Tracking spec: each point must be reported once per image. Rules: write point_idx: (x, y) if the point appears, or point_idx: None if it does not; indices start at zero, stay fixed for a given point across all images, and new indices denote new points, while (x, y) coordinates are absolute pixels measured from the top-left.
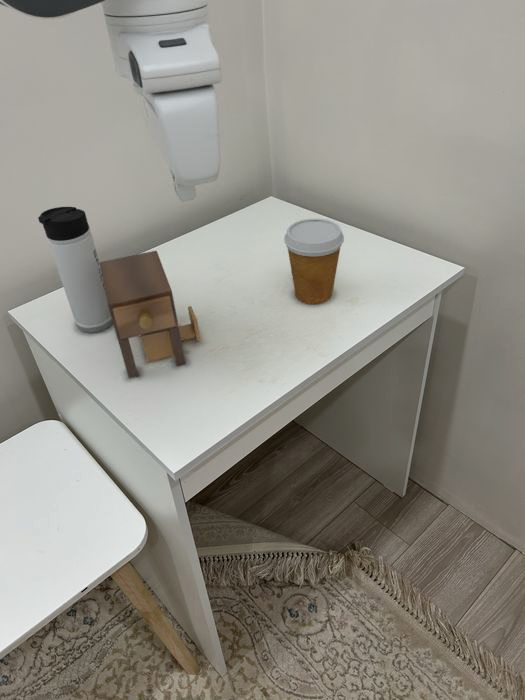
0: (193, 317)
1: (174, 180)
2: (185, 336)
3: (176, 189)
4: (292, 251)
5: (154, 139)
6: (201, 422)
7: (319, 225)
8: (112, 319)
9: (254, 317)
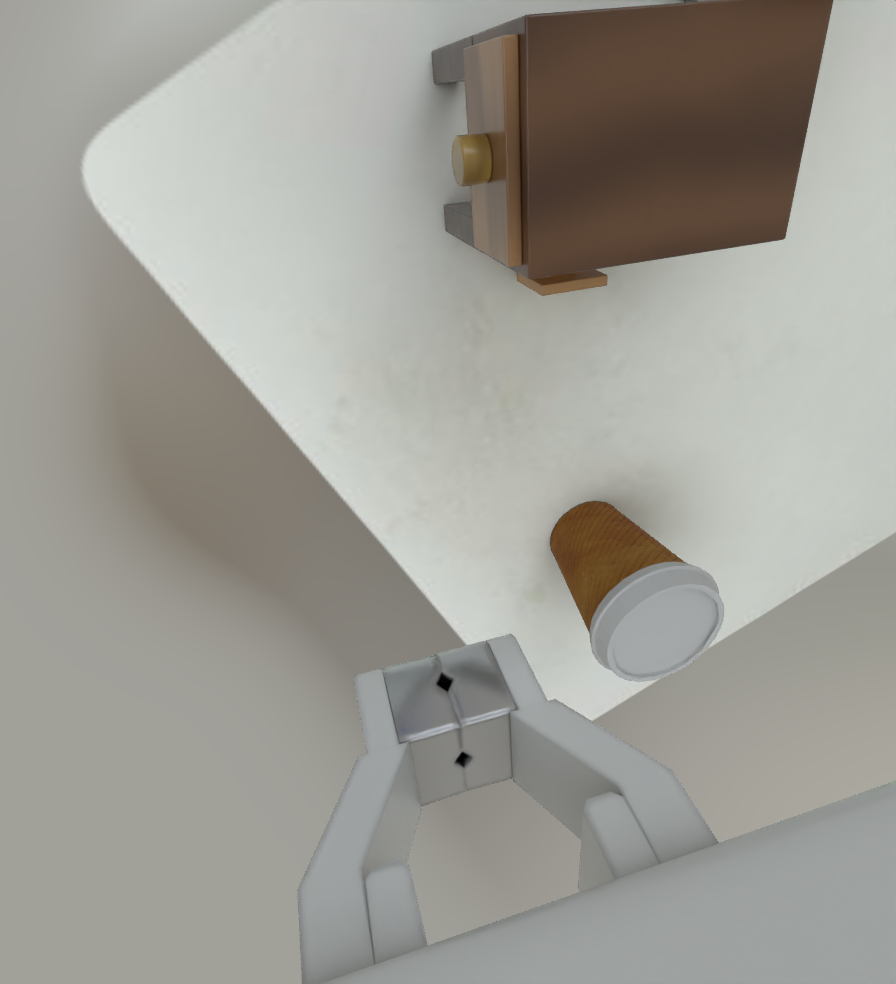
0: (554, 287)
1: (459, 725)
2: None
3: (416, 694)
4: (635, 573)
5: (840, 819)
6: (223, 250)
7: (685, 642)
8: (501, 26)
9: (560, 412)
